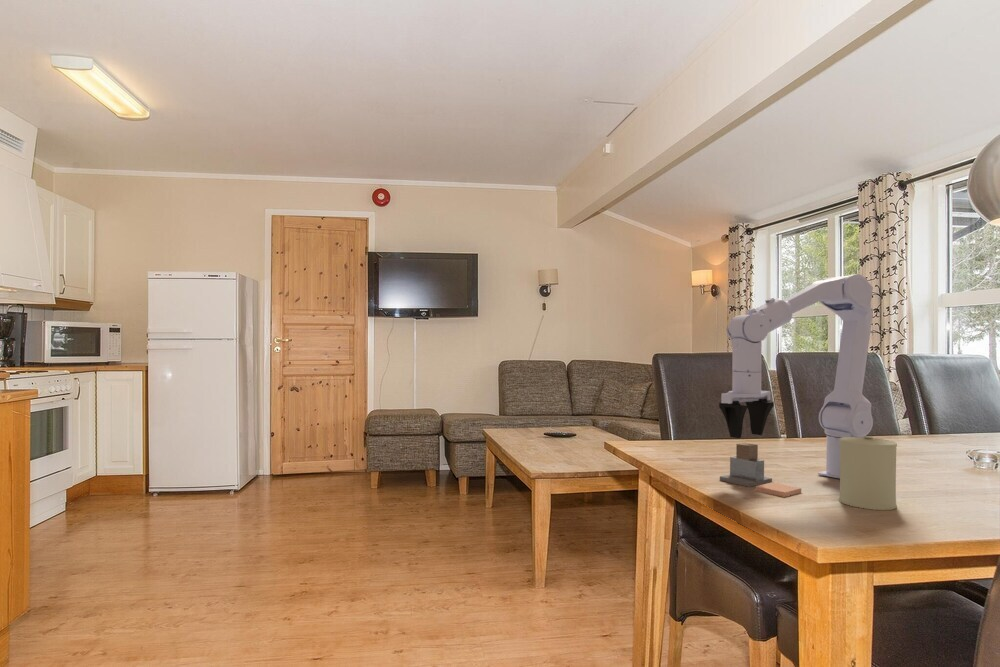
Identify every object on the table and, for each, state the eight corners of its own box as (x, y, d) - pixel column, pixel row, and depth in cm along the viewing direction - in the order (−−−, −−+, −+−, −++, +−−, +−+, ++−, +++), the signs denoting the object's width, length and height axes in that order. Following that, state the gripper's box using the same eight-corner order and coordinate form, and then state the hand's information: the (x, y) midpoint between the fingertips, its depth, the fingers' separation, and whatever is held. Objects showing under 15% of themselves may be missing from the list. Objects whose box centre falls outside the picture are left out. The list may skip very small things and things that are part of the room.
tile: (772, 482, 128) (755, 486, 124) (801, 488, 123) (784, 492, 119) (772, 488, 128) (755, 492, 124) (801, 495, 123) (784, 499, 119)
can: (895, 501, 117) (896, 437, 117) (897, 513, 109) (898, 444, 109) (839, 494, 122) (840, 432, 122) (837, 505, 114) (838, 439, 114)
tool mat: (742, 475, 138) (742, 472, 138) (772, 482, 132) (772, 478, 132) (719, 480, 133) (719, 476, 133) (749, 486, 127) (749, 483, 127)
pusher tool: (738, 474, 136) (738, 441, 136) (763, 479, 131) (764, 445, 131) (729, 475, 134) (730, 442, 134) (755, 481, 129) (755, 447, 129)
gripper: (750, 369, 140) (749, 430, 140) (709, 371, 132) (708, 436, 132) (779, 371, 134) (779, 435, 134) (738, 373, 126) (738, 441, 126)
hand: (746, 436), depth 133 cm, fingers open, 7 cm apart
